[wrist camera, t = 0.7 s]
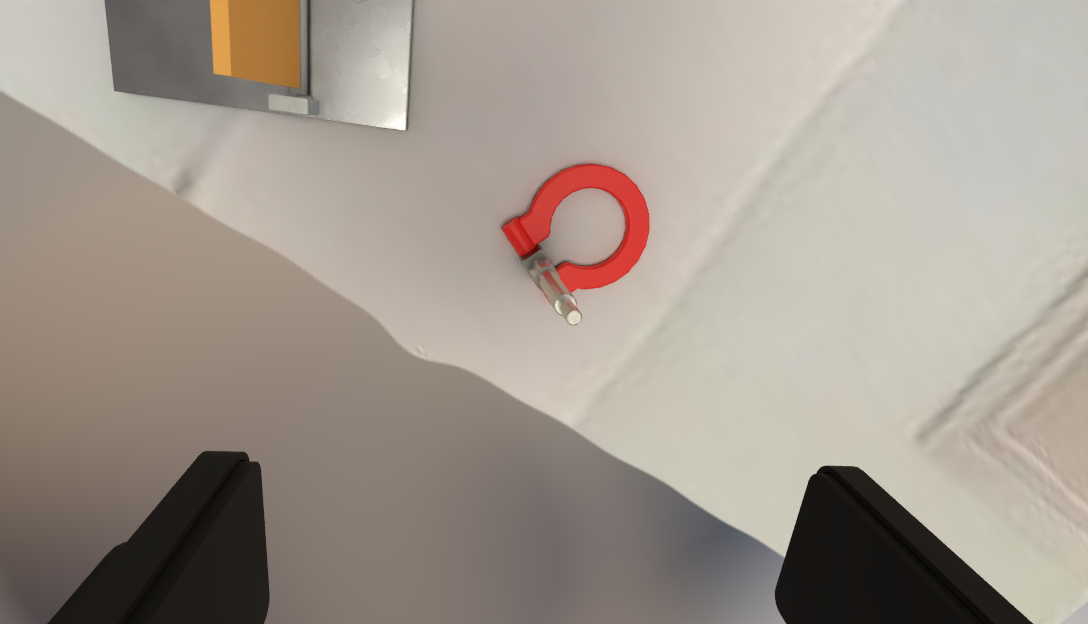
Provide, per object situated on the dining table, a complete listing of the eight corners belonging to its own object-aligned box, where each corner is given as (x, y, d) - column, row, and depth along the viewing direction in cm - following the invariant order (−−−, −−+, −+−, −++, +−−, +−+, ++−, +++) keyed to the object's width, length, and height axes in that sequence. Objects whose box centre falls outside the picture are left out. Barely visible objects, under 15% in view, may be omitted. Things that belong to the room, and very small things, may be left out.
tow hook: (607, 138, 36) (491, 215, 36) (687, 139, 24) (511, 254, 24) (664, 243, 39) (556, 313, 39) (760, 290, 27) (603, 392, 27)
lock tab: (292, -57, 29) (201, -120, 22) (310, -54, 29) (225, -117, 22) (293, 93, 32) (211, 80, 24) (310, 95, 32) (233, 83, 24)
